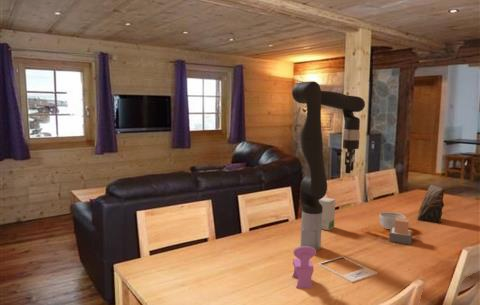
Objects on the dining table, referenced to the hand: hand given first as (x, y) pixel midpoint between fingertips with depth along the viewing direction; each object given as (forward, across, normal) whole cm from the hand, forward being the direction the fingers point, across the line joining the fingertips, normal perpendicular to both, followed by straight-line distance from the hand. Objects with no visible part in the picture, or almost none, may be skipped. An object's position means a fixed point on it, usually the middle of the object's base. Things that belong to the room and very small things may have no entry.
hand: (349, 171), depth 179 cm
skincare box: (+33, +9, +12) cm, 37 cm away
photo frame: (+34, -37, -7) cm, 51 cm away
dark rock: (+33, +52, -38) cm, 73 cm away
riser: (+33, +9, -25) cm, 42 cm away
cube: (+29, +9, -25) cm, 39 cm away
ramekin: (+33, +26, -20) cm, 47 cm away
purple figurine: (+33, -56, +6) cm, 65 cm away
